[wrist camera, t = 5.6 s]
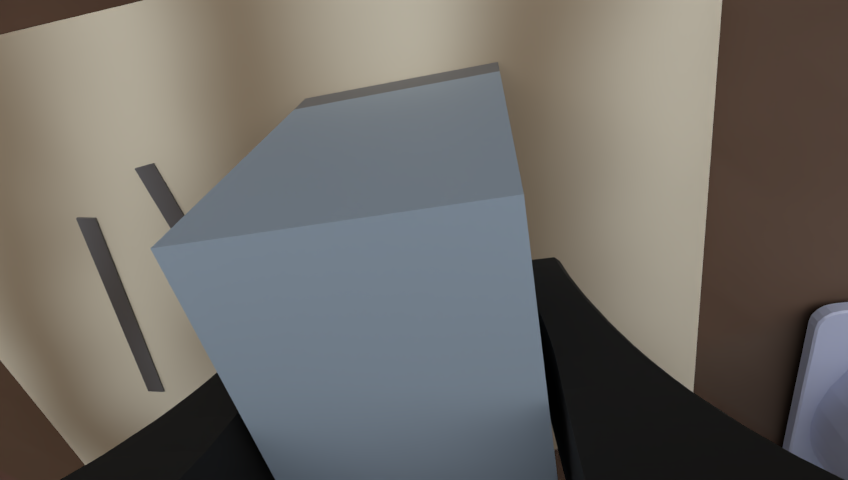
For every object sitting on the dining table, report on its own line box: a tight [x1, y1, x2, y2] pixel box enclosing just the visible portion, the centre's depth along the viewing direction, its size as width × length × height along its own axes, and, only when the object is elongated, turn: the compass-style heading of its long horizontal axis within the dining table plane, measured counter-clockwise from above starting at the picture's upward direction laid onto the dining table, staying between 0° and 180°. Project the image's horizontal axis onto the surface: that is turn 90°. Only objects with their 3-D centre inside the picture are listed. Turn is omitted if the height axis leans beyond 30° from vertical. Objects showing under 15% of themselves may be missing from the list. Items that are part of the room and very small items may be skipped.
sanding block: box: [150, 62, 558, 480], centre depth 10 cm, size 4×8×6 cm, turn 12°
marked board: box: [0, 0, 722, 465], centre depth 14 cm, size 20×14×1 cm
